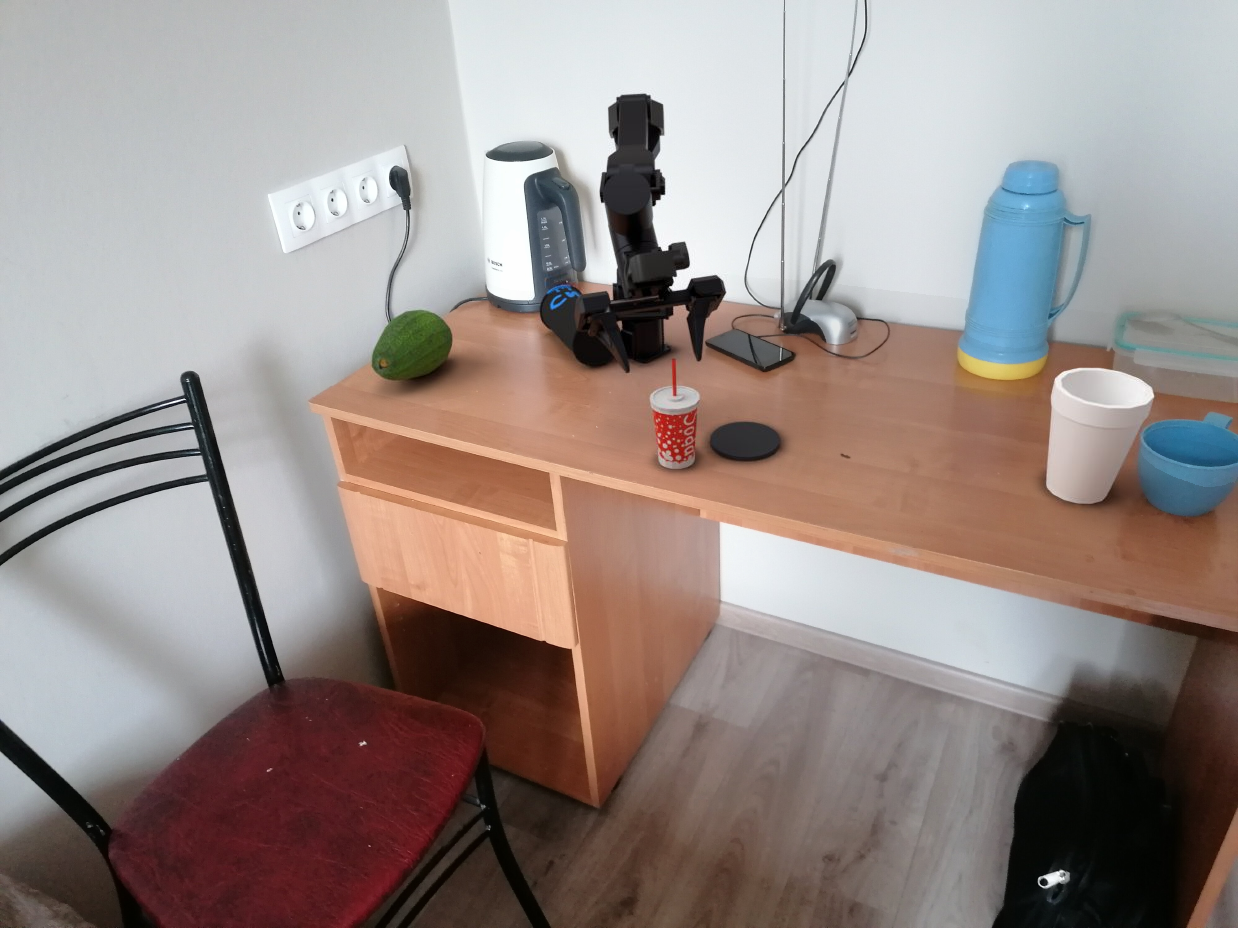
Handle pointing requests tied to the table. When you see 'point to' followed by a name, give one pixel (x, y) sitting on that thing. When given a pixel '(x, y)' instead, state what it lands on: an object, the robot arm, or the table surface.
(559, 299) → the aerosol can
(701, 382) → the table surface
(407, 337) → the fruit
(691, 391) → the beverage cup
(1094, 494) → the foam cup
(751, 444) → the coaster
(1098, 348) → the table surface
